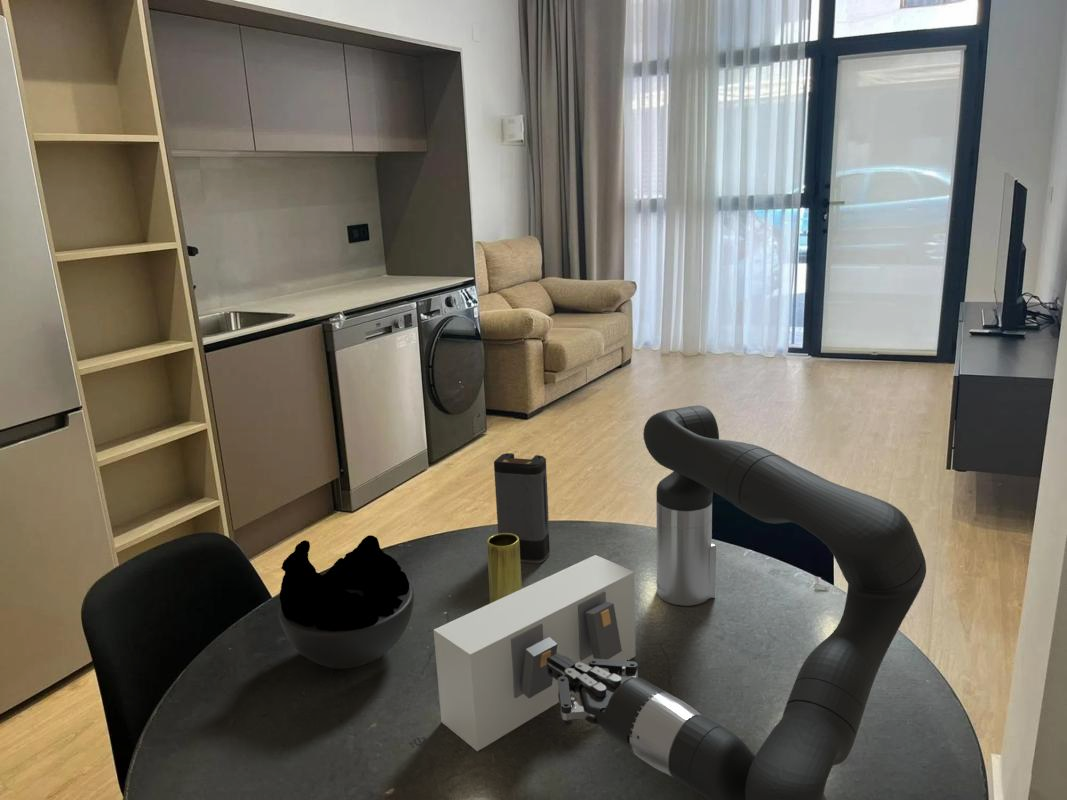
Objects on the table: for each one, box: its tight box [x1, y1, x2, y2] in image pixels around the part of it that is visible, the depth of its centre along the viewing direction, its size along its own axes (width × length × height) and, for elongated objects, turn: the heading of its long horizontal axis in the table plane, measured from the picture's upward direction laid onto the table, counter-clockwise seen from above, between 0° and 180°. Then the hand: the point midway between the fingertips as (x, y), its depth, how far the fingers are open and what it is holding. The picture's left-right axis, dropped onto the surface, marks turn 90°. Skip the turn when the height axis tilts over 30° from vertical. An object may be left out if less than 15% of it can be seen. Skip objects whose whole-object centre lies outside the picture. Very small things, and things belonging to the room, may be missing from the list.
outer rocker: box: [521, 637, 557, 698], centre depth 102 cm, size 2×4×7 cm, turn 131°
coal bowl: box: [278, 534, 415, 669], centre depth 120 cm, size 20×20×19 cm
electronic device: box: [493, 452, 551, 564], centre depth 151 cm, size 9×6×20 cm, turn 71°
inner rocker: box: [585, 602, 622, 660], centre depth 109 cm, size 2×4×7 cm, turn 131°
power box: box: [433, 554, 636, 752], centre depth 111 cm, size 8×30×14 cm, turn 131°
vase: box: [486, 533, 523, 604], centre depth 130 cm, size 6×6×14 cm
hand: (551, 661), depth 100 cm, fingers closed
